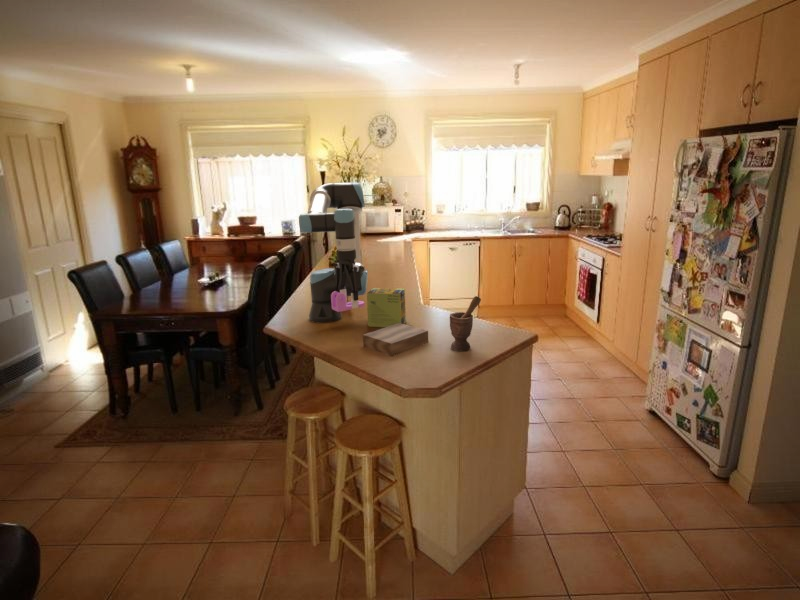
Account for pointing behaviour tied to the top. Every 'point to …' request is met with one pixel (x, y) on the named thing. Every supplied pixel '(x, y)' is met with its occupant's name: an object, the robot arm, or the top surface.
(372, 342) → the walnut block
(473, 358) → the top surface
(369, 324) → the protein box
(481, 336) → the top surface
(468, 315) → the mortar and pestle
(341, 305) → the bracket
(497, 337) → the top surface
